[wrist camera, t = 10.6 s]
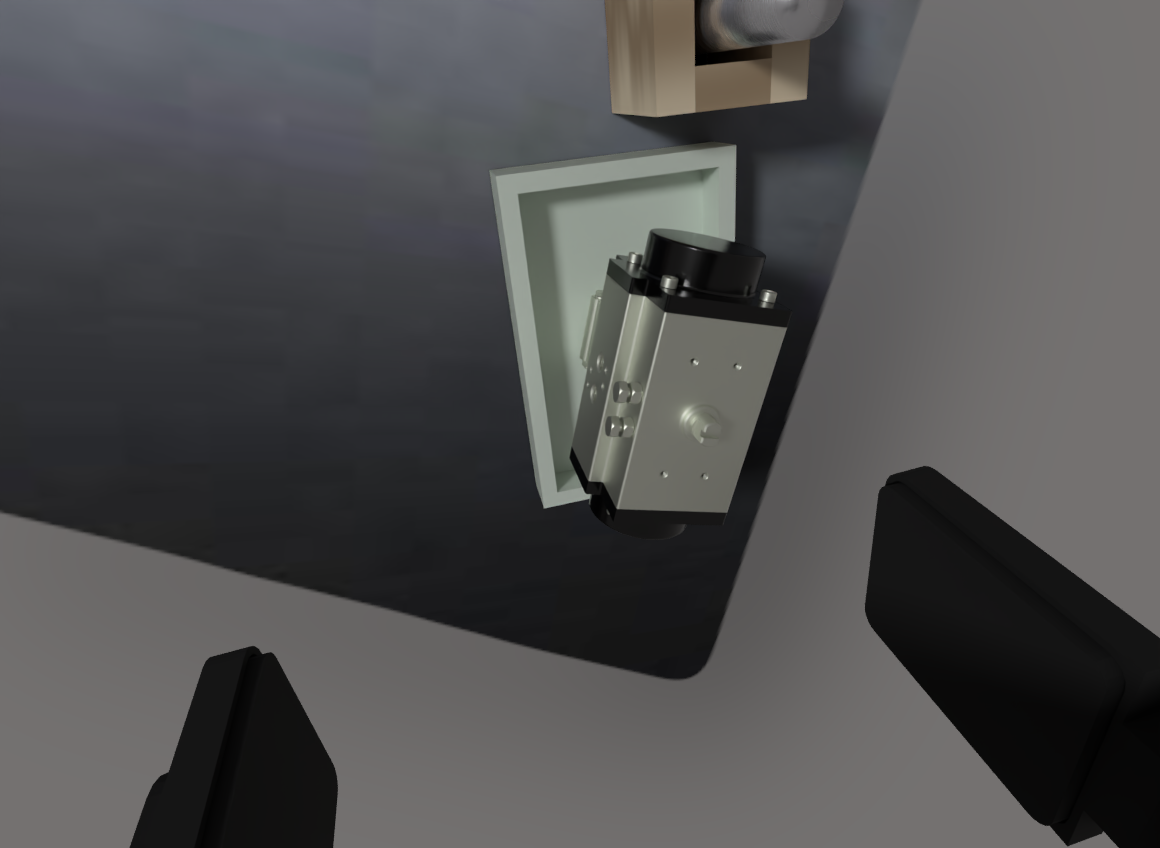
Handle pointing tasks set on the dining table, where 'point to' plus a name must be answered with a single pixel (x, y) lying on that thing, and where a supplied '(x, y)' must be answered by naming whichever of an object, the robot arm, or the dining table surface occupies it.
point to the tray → (589, 266)
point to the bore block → (691, 64)
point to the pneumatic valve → (673, 381)
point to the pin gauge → (759, 22)
